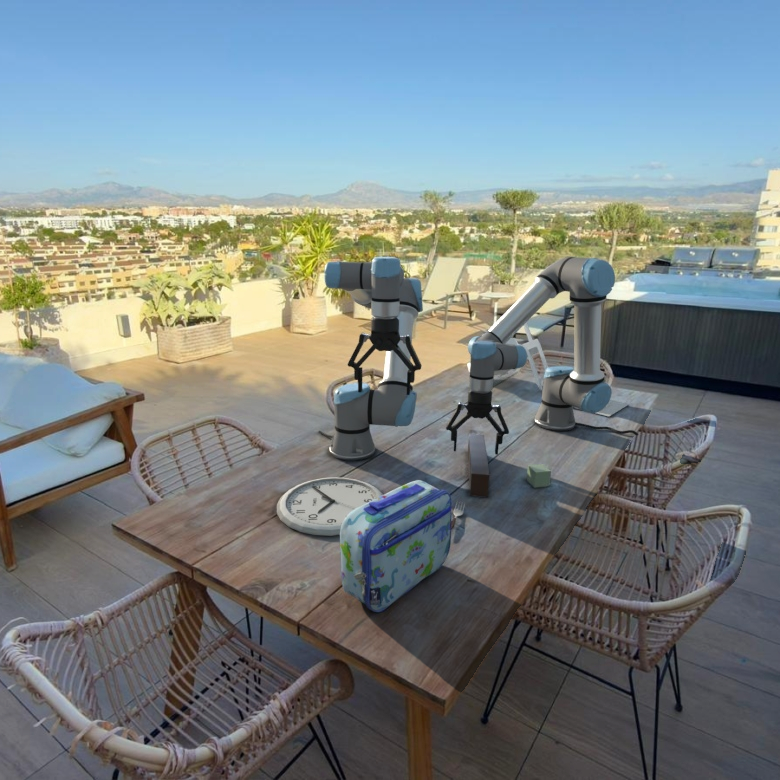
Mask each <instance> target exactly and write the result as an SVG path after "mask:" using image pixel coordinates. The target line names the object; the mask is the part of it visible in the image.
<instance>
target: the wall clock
mask: <svg viewBox="0 0 780 780" xmlns="http://www.w3.org/2000/svg"><path fill="white" fill-rule="evenodd" d="M384 494H385V493H383V492H382V491H381V490H380V489H379V488H377V487H376V486H374V485H372V484H371V483H369V482H365V481H362V480H359V479H355V478H349V477H338V476H337V477H335V476H333V477H332V476H331V477H322V478H317V479H312V480H307V481H305V482H302V483H299V484H297V485H295V486H293V487H292V488H290V489H288V490H287V491H286V492H285V493H284V494H283V495H281V496H280V498H279V499H278V502H277V503H276V515H277V517H278V518H279V520H280V521H281V522H282V523H283V524H285V525H286V526H287V527H288V528H290V529H293V530H295V531H297V532H299V533H303V534H308V535H312V536H327V537H328V536H329V537H331V536H332V537H333V536H340V530H341V526H342V523H343V521H344V519H345V518H346V516H347V515H348V514H349V513H350V512H351V511H353V510H354V509H356V508H358V507H360V506H362V505H364V504H366V503H368V502H370V501H372V500H374V499H376V498H378V497H380V496H382V495H384Z"/></svg>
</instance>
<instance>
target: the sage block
mask: <svg viewBox="0 0 780 780" xmlns="http://www.w3.org/2000/svg"><path fill="white" fill-rule="evenodd" d="M551 474H552V470H551V469H550V468H548V467H547V466H546V465H545V464H544V463H538V464H528V465H527V471H526V481H527V482H528V483H529V485H531V487H532V488H535V489H536V488H543V487H545V488H546V487H550V484H551V476H552V475H551Z"/></svg>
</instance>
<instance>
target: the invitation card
mask: <svg viewBox="0 0 780 780" xmlns="http://www.w3.org/2000/svg"><path fill="white" fill-rule="evenodd" d="M628 406H629V404H627V403H623V402H618V401H614V400H611V399H610V400H609V402H608V404H607V405H606V406H605V408H604V409H602V410H601V411H599V412H597V413H595V414H596V415H600V416H604V417H608V418H609V417H611V416H613V415H614V414H616V413H617V412H619V411H621V410H623V409H624V408H626V407H628ZM573 409H575V410H581V409H579V408H576V407H574V406H573ZM581 411H582V410H581Z"/></svg>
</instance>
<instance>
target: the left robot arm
mask: <svg viewBox="0 0 780 780" xmlns="http://www.w3.org/2000/svg"><path fill="white" fill-rule="evenodd" d="M323 276H324V277H323V278H324V283H325V287H327V288H328V289H335V290H337V289H338V290H339V289H340V290H342V291H344V292H346V293H347V294H348V295H350V298H351V299H352V300H353V302H355V303H356V304H358V305H360V306H361V307H365V308H367V309H370V312H371V313H370V315H371V316H372V317H371V319H370V334H368V333H365V332H361V333H360V334H359V337H358V343H357V345H356V347H355V348H354V350H353V353H352V354H351V356H350V358H349V360H348V362H347V366H348V367H349V368H353V370H354V371H353V374H354V376H353V377H354V380H355V381H357V382H351V383H347V384H343V385H341V386H339V387H337V388H336V389H335V392H334V396H333V397H334V399H333V408H334V409H333V410H334V415H333V416H334V432H333V434H332V435H331V434H327V433H324V432H322V431H321V430H318V433H319V434H320V435H322V436H324V437H327V438H330V444H329V454H330V455H331V457H333V458H335V459H338V460H341V461H351V462H353V461H362V460H365V459H368V458H370V457H372V456H374V454H375V452H376V447H375V443H374V439H373V436H372V433H371V429H370V425H371V426H386V427H387V426H388V427H389V426H390V427H396V428H397V427H408V426H410V425H411V424H412V421H413V419H414V415H415V411H416V406H417V405H416V403H417V399H418V398H417V396H418V393H417V391H415V390H414V387H413V386H414V385H412V384H413V383H414V382H415V380H416V379H415V378H416V371H420V370H421V369H422V363H421V361H420V358H419V357H418V354H417V353H416V350H415V348H414V346H413V331H414V321H415V320H416V319H417V318H418V317H419V313H421V312H423V310H424V308H423V307H424V305H423V304H424V303H423V291H422V282H421V280H420V279H418V278H415V277H414V278H413V277H408V276H407V277H405V271H404V268H403V267H402V266H401V260H400V258H398V257H396V256H395V257H394V256H377V257H373V259H372V260H371V261H339V260H337V261H328V262H327V263H326V264H325V266H324V275H323ZM368 340H369V341H370V343H371V344H372V345H371V346H370V347H369V349H368V350H367V351H366V352H364V354H363V355H362V356H361V357H360V358H359V360H358V361H357V362H355V361H356V359H357V357H358V355H359V353H360V352H361V349H362V348H363V346H364V344H365V343H366V342H367V341H368ZM376 350H377V351H378V352H385V354H384V355H385V357H384V368H383V376H382V377H383V378H382V380H380V381H379V382H378V384H377V389H373V388H371V386H370V384H369V383H366V382H363V367H361V366H362V365H363V364H364V363H365V361H366V360H367V359H368V358H369V357H370V356H371V355H372V353H374V351H376ZM411 360H412V361H413V363H412V361H411Z"/></svg>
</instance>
